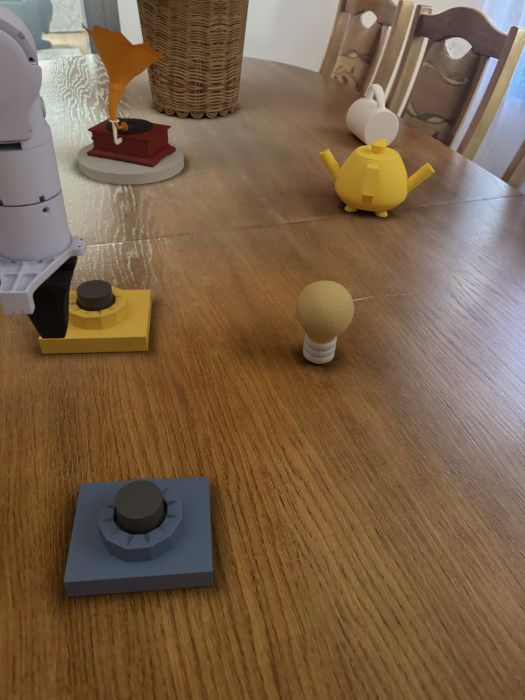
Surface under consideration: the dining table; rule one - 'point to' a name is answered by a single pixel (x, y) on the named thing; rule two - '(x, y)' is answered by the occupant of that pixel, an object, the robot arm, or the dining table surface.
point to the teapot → (373, 178)
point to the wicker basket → (195, 54)
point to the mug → (372, 118)
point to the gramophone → (127, 123)
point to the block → (140, 541)
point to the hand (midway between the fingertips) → (54, 334)
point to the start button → (139, 506)
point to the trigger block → (106, 326)
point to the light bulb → (323, 318)
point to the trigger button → (95, 295)
